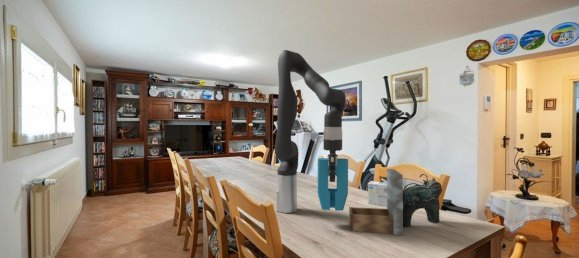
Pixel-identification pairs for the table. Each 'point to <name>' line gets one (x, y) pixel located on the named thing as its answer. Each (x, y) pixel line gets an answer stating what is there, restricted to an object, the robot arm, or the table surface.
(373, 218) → the wooden stand
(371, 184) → the light bulb box
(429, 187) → the dark green elephant figurine
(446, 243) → the table surface
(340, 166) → the block
